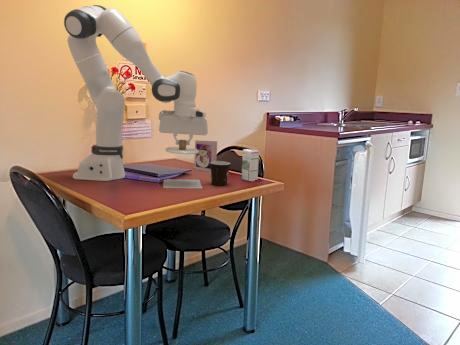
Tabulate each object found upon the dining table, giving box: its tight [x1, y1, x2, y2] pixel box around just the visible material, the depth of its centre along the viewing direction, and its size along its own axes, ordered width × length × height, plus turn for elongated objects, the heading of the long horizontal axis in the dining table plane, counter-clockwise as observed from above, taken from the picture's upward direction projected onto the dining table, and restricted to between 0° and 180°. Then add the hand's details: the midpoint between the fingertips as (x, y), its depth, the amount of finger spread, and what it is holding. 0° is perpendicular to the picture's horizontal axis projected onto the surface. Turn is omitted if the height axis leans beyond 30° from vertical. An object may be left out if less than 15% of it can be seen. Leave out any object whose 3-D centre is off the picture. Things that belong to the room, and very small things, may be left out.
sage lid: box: [165, 139, 199, 155], centre depth 167 cm, size 14×14×5 cm
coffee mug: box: [210, 160, 231, 187], centre depth 171 cm, size 12×9×10 cm
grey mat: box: [162, 178, 203, 190], centre depth 171 cm, size 16×16×1 cm
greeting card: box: [193, 139, 218, 173], centre depth 205 cm, size 11×7×15 cm, turn 61°
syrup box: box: [240, 148, 260, 182], centre depth 186 cm, size 6×6×14 cm
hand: (182, 144), depth 167 cm, fingers closed on sage lid, 3 cm apart
